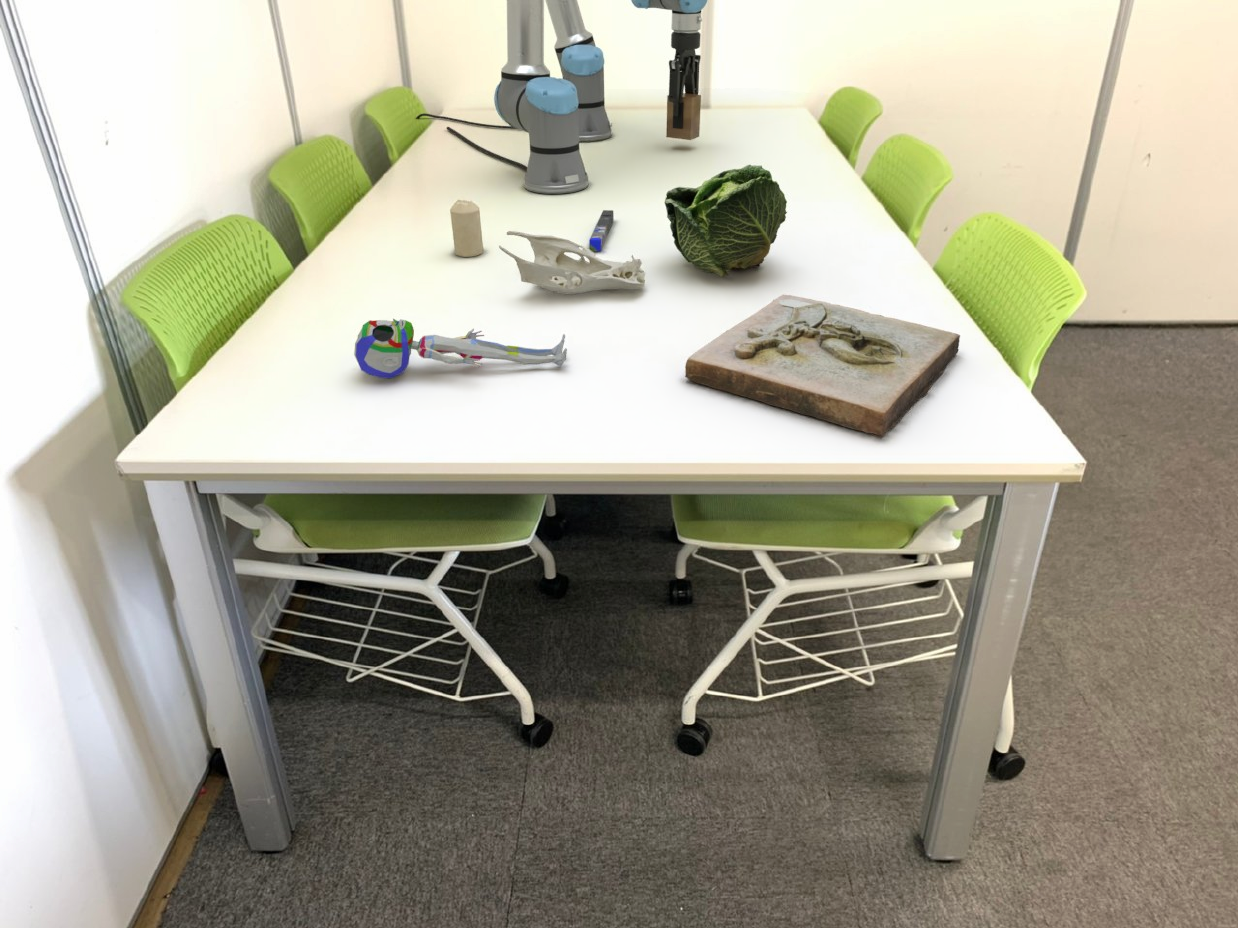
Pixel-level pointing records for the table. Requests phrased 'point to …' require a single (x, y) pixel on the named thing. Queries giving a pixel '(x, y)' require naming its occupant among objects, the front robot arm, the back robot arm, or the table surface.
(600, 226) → the blue capped marker
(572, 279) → the anatomical model
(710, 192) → the vegetable
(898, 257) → the table surface
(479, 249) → the candle
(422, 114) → the back robot arm
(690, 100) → the block
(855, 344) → the plaque
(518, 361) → the toy
